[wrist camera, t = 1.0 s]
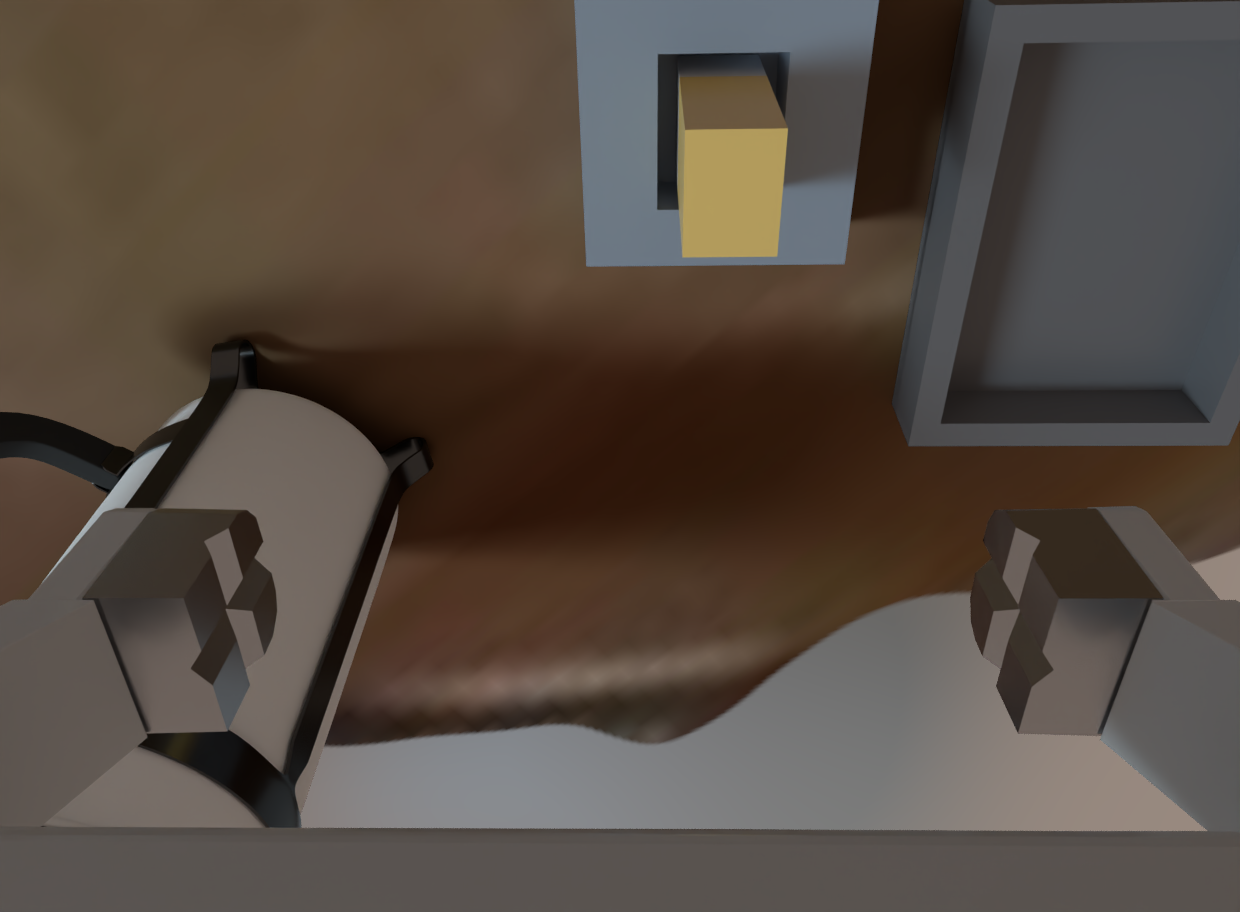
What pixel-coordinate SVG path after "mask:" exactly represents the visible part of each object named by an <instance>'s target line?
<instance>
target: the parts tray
mask: <svg viewBox="0 0 1240 912" xmlns="http://www.w3.org/2000/svg"><path fill="white" fill-rule="evenodd" d="M892 405H893V408H894V411H895V413H896V416H897V418H898V421H899V423H900V426H901V428H902V431H903V434H904V436H905V439H906V441H907V444H908V446H1174V445H1229V443H1230V440H1231V438H1232V436H1233V434H1234V431H1235V429H1236V427H1237V425H1238V422H1239V420H1240V0H964V4H963V9H962V15H961V21H960V26H959V32H958V37H957V43H956V48H955V54H954V60H953V65H952V71H951V76H950V82H949V88H948V93H947V99H946V104H945V110H944V115H943V121H942V127H941V132H940V138H939V143H938V149H937V154H936V160H935V166H934V171H933V177H932V182H931V188H930V194H929V199H928V205H927V210H926V216H925V221H924V227H923V233H922V238H921V244H920V249H919V255H918V260H917V266H916V272H915V277H914V283H913V288H912V294H911V300H910V305H909V311H908V316H907V322H906V327H905V333H904V339H903V344H902V350H901V355H900V361H899V366H898V372H897V378H896V383H895V389H894V394H893V400H892Z"/></svg>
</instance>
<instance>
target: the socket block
mask: <svg viewBox="0 0 1240 912" xmlns="http://www.w3.org/2000/svg"><path fill="white" fill-rule="evenodd" d="M878 4H879V0H575V21H576V43H577V66H578V88H579V110H580V133H581V155H582V178H583V200H584V222H585V245H586V266H694V265H807V264H845V257H846V250H847V242H848V234H849V226H850V219H851V211H852V203H853V196H854V188H855V180H856V173H857V165H858V157H859V150H860V142H861V134H862V127H863V119H864V111H865V104H866V96H867V88H868V81H869V73H870V65H871V58H872V50H873V42H874V35H875V27H876V19H877V12H878ZM718 55H759V58H760V60H761V63H762V65H763V68H764V70H765V73H766V75H767V77H768V80H769V82H770V85H771V87H772V90H773V92H774V95H775V97H776V100H777V102H778V105H779V107H780V110H781V112H782V115H783V117H784V120H785V122H786V125H787V127H788V135H787V147H786V159H785V170H784V182H783V194H782V206H781V218H780V230H779V242H778V254H777V257H682V245H681V231H680V217H679V204H678V190H677V176H676V100H677V56H718Z"/></svg>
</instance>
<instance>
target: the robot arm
mask: <svg viewBox="0 0 1240 912" xmlns="http://www.w3.org/2000/svg"><path fill="white" fill-rule="evenodd" d="M983 542H984V544H985V546H986V548H987V550H988V552H989V553H990V555H991V557H992V558H991V559H990V560H989V561H988V562H987V563H986V564H985V565H984V566H983V567H981V568H980V569H979V570H978V571H977V572H976V573H975V577H974V582H973V587H972V592H971V597H970V603H971V624H972V628H973V632H974V636H975V640H976V642H977V645H978V647H979V649H980V651H981V654H982V656H983V657H984V658H986V659H987V660H989V661H990V662H991V663H993V664H994V665H996V666H997V667H998V668H1000V669H1001V670H1000V674H999V677H998V681H997V685H996V687H997V689H998V691H999V693H1000V696H1001V698H1002V700H1003V702H1004V704H1005V706H1006V708H1007V711H1008V713H1009V715H1010V717H1011V719H1012V721H1013V723H1014V726H1015V728H1016V730H1017V732H1018V733H1019V734H1053V735H1087V736H1101V739H1100V740H1101V741H1103V742H1104V743H1105V744H1106V745H1107V746H1108V747H1110V748H1111V749H1112V750H1113V751H1114V752H1115V753H1117V754H1118V755H1119V756H1120V757H1121V758H1123V759H1124V760H1125V761H1126V762H1127V763H1128V764H1130V765H1131V766H1132V767H1133V768H1134V769H1135V770H1137V771H1138V772H1139V773H1140V774H1141V775H1143V776H1144V777H1145V778H1146V779H1147V780H1149V781H1150V782H1151V783H1152V784H1153V785H1154V786H1156V787H1157V788H1158V789H1159V790H1160V791H1161V792H1163V793H1164V794H1165V795H1166V796H1167V797H1168V798H1170V799H1171V800H1172V801H1173V802H1174V803H1176V804H1177V805H1178V806H1179V807H1180V808H1181V809H1183V810H1184V811H1185V812H1186V813H1187V814H1188V815H1190V816H1191V817H1192V818H1193V819H1195V820H1196V821H1197V822H1198V823H1199V824H1200V825H1201V826H1203V827H1204V828H1205V829H1206V830H1207V831H942V830H940V831H939V830H936V831H935V830H931V831H930V830H775V829H773V830H772V829H770V830H769V829H761V830H760V829H477V828H476V829H474V828H472V829H470V828H466V829H465V828H460V829H458V828H455V829H454V828H444V829H443V828H218V827H41V826H42V825H43V824H44V823H46V822H47V821H48V820H49V819H50V818H52V817H53V816H54V815H55V814H56V813H58V812H59V811H60V810H61V809H62V808H64V807H65V806H66V805H67V804H68V803H70V802H71V801H72V800H73V799H74V798H76V797H77V796H78V795H79V794H80V793H82V792H83V791H84V790H85V789H86V788H88V787H89V786H90V785H91V784H92V783H94V782H95V781H96V780H97V779H98V778H100V777H101V776H102V775H103V774H104V773H106V772H107V771H108V770H109V769H110V768H112V767H113V766H114V765H115V764H116V763H118V762H119V761H120V760H121V759H122V758H124V757H125V756H126V755H127V754H128V753H129V752H131V751H132V750H133V749H134V748H135V747H137V746H138V745H139V744H140V743H141V742H143V741H144V740H145V739H146V738H147V734H146V733H185V732H226V731H228V729H229V727H230V725H231V723H232V721H233V719H234V717H235V715H236V713H237V711H238V709H239V707H240V705H241V703H242V701H243V699H244V697H245V694H246V692H247V690H248V688H249V686H250V683H249V679H248V676H247V672H246V668H247V667H248V666H250V665H251V664H253V663H254V662H256V661H257V660H258V659H260V658H261V657H263V656H264V655H265V653H266V651H267V648H268V646H269V644H270V642H271V640H272V637H273V633H274V628H275V622H276V616H277V598H276V589H275V585H274V581H273V577H272V573H271V572H270V571H269V570H267V569H266V568H265V567H264V566H263V565H262V564H261V563H260V562H258V561H257V560H256V559H255V558H254V557H255V556H256V554H257V552H258V550H259V548H260V547H261V545H262V543H263V538H262V535H261V532H260V529H259V525H258V522H257V519H256V517H255V516H254V515H253V514H251V513H250V512H249V511H248V510H227V509H175V508H160V509H155V508H115V509H112V510H108V511H105V512H103V513H102V514H101V515H100V517H99V518H98V519H97V520H96V521H95V522H94V524H93V525H92V526H91V527H90V528H89V529H88V530H87V532H86V533H85V534H84V535H83V536H82V537H81V539H80V540H79V541H78V542H77V543H76V544H75V546H74V547H73V548H72V549H71V550H70V551H69V553H68V554H67V555H66V556H65V557H64V558H63V560H62V561H61V562H60V563H59V564H58V565H57V566H56V568H55V569H54V570H53V571H52V572H51V573H50V575H49V576H48V577H47V578H46V579H45V580H44V582H43V583H42V584H41V585H40V586H39V587H38V589H37V590H36V591H35V592H34V593H33V594H32V596H31V597H30V598H29V599H28V600H12V601H10V602H8V603H6V604H4V605H2V606H0V912H1240V602H1238V601H1236V600H1220V599H1219V598H1218V597H1217V595H1216V594H1215V593H1214V592H1213V591H1212V589H1211V588H1210V587H1209V586H1208V585H1207V584H1206V582H1205V581H1204V580H1203V579H1202V577H1201V576H1200V575H1199V574H1198V573H1197V571H1196V570H1195V569H1194V568H1193V567H1192V565H1191V564H1190V563H1189V562H1188V561H1187V559H1186V558H1185V557H1184V556H1183V555H1182V553H1181V552H1180V551H1179V550H1178V549H1177V547H1176V546H1175V545H1174V544H1173V543H1172V541H1171V540H1170V539H1169V538H1168V537H1167V535H1166V534H1165V533H1164V532H1163V531H1162V529H1161V528H1160V527H1159V526H1158V525H1157V523H1156V522H1155V521H1154V520H1153V519H1152V517H1151V516H1150V515H1149V514H1148V513H1147V512H1146V511H1145V510H1143V509H1140V508H1138V507H1136V506H1122V507H1091V508H1087V509H1029V510H994V512H993V514H992V516H991V517H990V519H989V521H988V523H987V527H986V531H985V535H984V539H983Z"/></svg>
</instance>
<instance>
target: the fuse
mask: <svg viewBox="0 0 1240 912" xmlns="http://www.w3.org/2000/svg"><path fill="white" fill-rule="evenodd" d="M787 135H788V127H787V125H786V122H785V120H784V117H783V115H782V112H781V110H780V107H779V105H778V102H777V100H776V97H775V95H774V92H773V90H772V87H771V85H770V82H769V80H768V77H767V75H766V73H765V70H764V68H763V65H762V63H761V60H760V58H759V55H718V56H677V100H676V176H677V190H678V204H679V217H680V231H681V245H682V257H777V254H778V242H779V230H780V218H781V206H782V194H783V182H784V170H785V159H786V147H787Z"/></svg>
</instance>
